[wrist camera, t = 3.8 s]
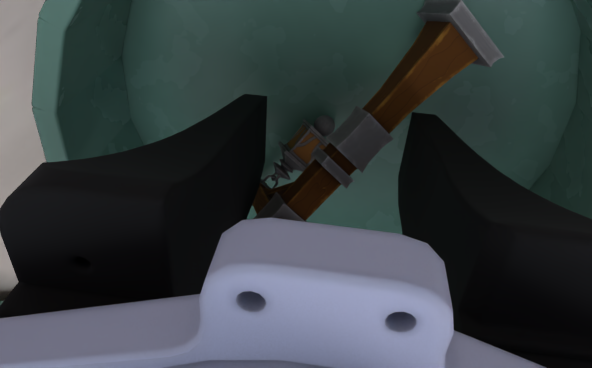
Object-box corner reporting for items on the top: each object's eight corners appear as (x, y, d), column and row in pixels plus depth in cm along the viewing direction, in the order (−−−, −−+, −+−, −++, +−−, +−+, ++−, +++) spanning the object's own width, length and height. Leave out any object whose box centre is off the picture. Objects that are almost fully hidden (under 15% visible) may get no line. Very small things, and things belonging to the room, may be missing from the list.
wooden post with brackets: (208, 190, 16) (218, 258, 12) (387, 0, 15) (466, -1, 11) (250, 223, 16) (273, 298, 12) (422, 43, 16) (510, 58, 11)
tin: (715, -162, 10) (873, -162, 7) (505, 298, 19) (535, 396, 15) (62, -209, 11) (-63, -229, 8) (138, 250, 19) (92, 333, 16)
